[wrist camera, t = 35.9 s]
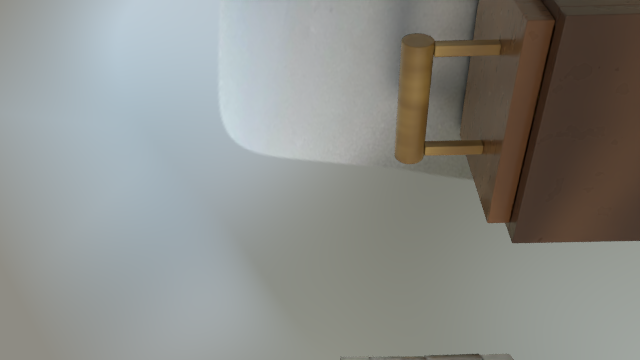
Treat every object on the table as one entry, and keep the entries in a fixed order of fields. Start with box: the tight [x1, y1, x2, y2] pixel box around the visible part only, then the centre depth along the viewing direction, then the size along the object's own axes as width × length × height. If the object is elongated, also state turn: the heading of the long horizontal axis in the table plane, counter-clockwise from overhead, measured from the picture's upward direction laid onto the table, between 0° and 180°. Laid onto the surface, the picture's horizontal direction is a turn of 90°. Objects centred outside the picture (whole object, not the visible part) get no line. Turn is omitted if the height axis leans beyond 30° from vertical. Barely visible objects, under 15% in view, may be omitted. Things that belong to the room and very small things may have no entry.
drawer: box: [395, 0, 555, 223], centre depth 32 cm, size 18×12×8 cm, turn 92°
